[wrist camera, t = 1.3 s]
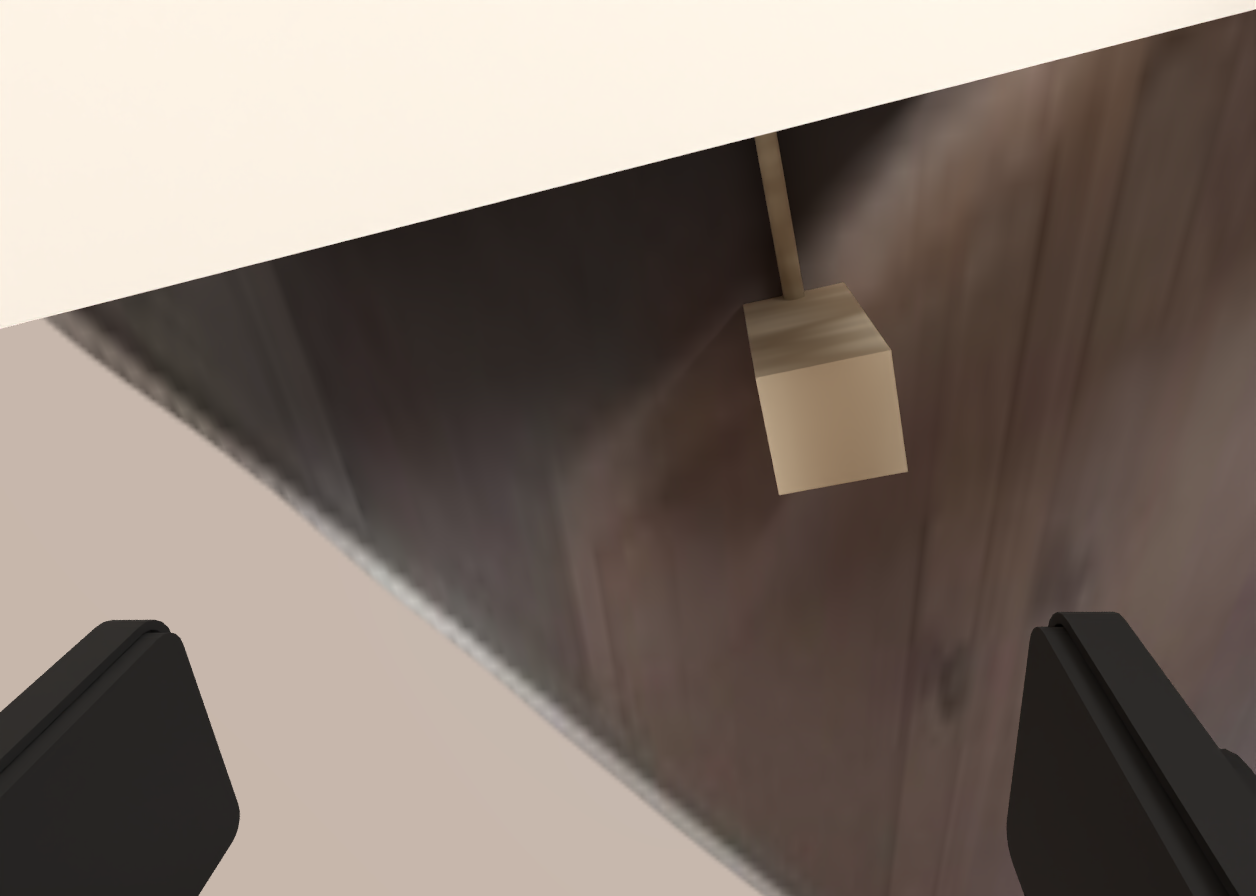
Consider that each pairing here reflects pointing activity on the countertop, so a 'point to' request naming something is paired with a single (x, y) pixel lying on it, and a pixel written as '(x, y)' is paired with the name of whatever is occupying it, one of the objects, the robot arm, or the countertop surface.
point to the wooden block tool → (819, 368)
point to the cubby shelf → (429, 109)
